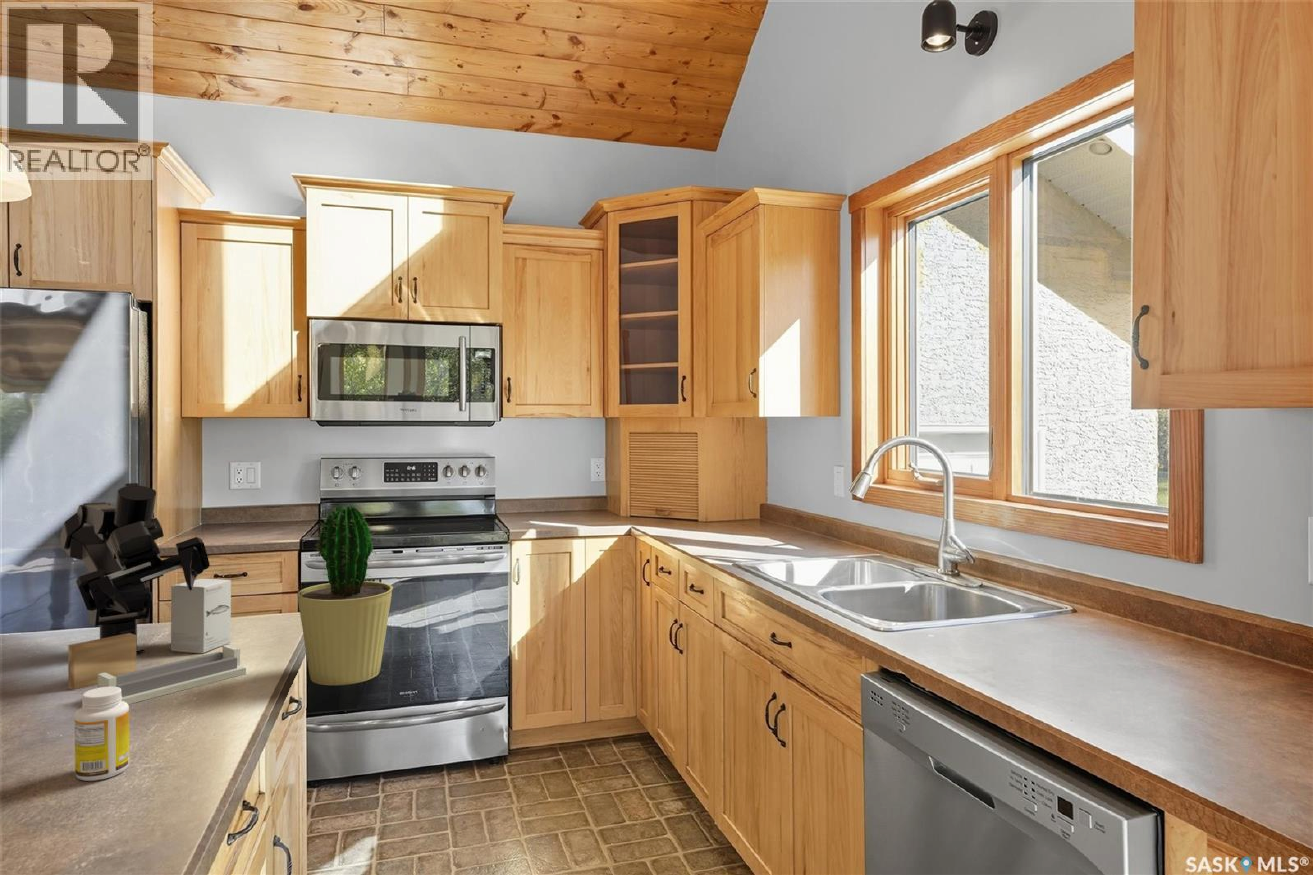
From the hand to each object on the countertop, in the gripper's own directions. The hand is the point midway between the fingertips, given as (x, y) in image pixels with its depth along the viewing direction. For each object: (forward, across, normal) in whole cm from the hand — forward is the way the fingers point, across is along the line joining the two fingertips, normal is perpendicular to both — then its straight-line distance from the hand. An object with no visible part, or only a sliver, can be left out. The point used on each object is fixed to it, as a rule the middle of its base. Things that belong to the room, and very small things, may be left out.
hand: (159, 599), depth 128 cm
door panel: (-2, -11, +14) cm, 18 cm away
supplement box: (-10, +5, +23) cm, 26 cm away
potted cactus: (+21, +20, +13) cm, 32 cm away
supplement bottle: (+34, -14, -4) cm, 37 cm away
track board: (+7, -2, +12) cm, 14 cm away
